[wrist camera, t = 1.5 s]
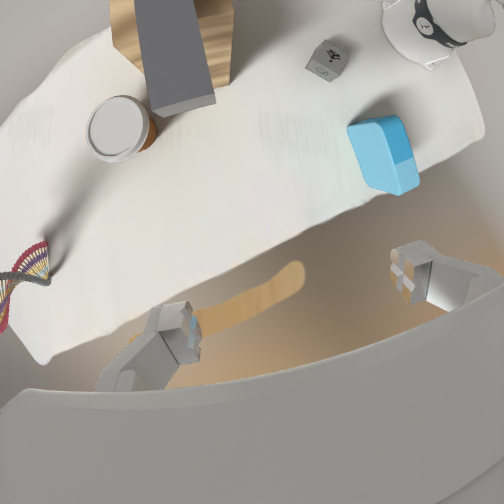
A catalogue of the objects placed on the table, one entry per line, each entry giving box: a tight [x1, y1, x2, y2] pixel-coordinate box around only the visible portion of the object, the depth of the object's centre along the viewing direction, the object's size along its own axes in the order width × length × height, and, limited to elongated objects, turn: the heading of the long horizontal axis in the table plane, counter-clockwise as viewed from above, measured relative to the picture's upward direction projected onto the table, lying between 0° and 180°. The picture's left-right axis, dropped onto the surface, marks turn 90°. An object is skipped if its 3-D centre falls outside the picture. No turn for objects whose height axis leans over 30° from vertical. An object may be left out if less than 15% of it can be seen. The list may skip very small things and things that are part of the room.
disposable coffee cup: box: [86, 95, 157, 163], centre depth 35 cm, size 10×10×12 cm
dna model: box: [0, 241, 51, 334], centre depth 32 cm, size 9×9×30 cm
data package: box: [347, 115, 420, 195], centre depth 40 cm, size 12×4×12 cm, turn 25°
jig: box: [109, 0, 235, 89], centre depth 22 cm, size 19×10×30 cm, turn 12°
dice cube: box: [305, 40, 350, 82], centre depth 37 cm, size 5×5×5 cm
